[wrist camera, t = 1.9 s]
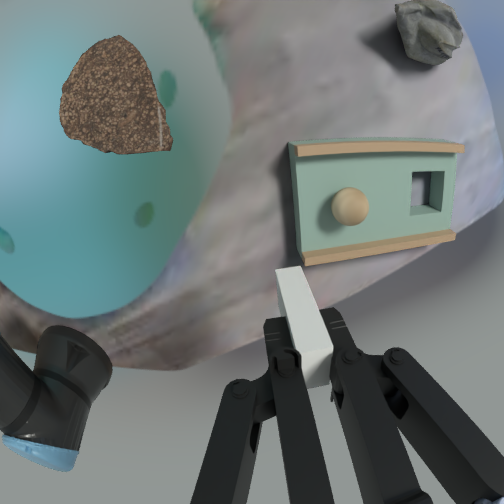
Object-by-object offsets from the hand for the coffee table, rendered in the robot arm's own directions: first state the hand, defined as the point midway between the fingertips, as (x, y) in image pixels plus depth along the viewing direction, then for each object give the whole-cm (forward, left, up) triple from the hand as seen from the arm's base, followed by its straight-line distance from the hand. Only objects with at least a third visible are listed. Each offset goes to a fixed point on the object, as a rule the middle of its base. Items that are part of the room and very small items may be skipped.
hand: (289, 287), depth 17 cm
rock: (-12, +14, -17) cm, 25 cm away
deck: (+15, 0, -17) cm, 23 cm away
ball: (+9, 0, -12) cm, 15 cm away
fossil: (+22, +21, -17) cm, 35 cm away
